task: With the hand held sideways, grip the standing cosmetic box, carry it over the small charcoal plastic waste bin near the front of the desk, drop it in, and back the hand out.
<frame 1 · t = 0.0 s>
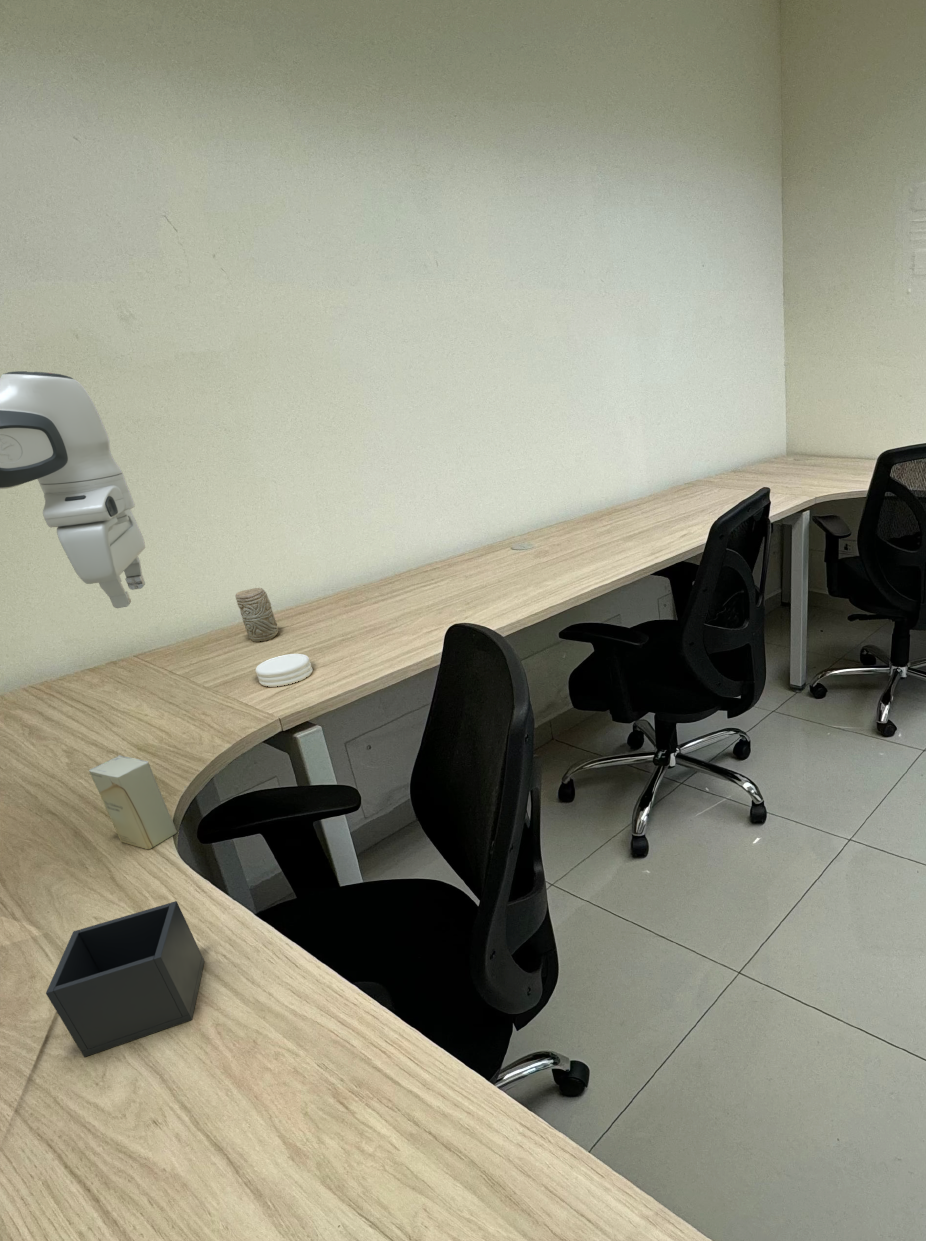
hand: (131, 596, 107), 32 cm above the table, tool pointing down, fingers open, 8 cm apart
cosmetic box: (151, 838, 109), on the table
waste bin: (148, 1005, 81), on the table
white ridged disc: (287, 678, 159), on the table
carving: (265, 638, 182), on the table
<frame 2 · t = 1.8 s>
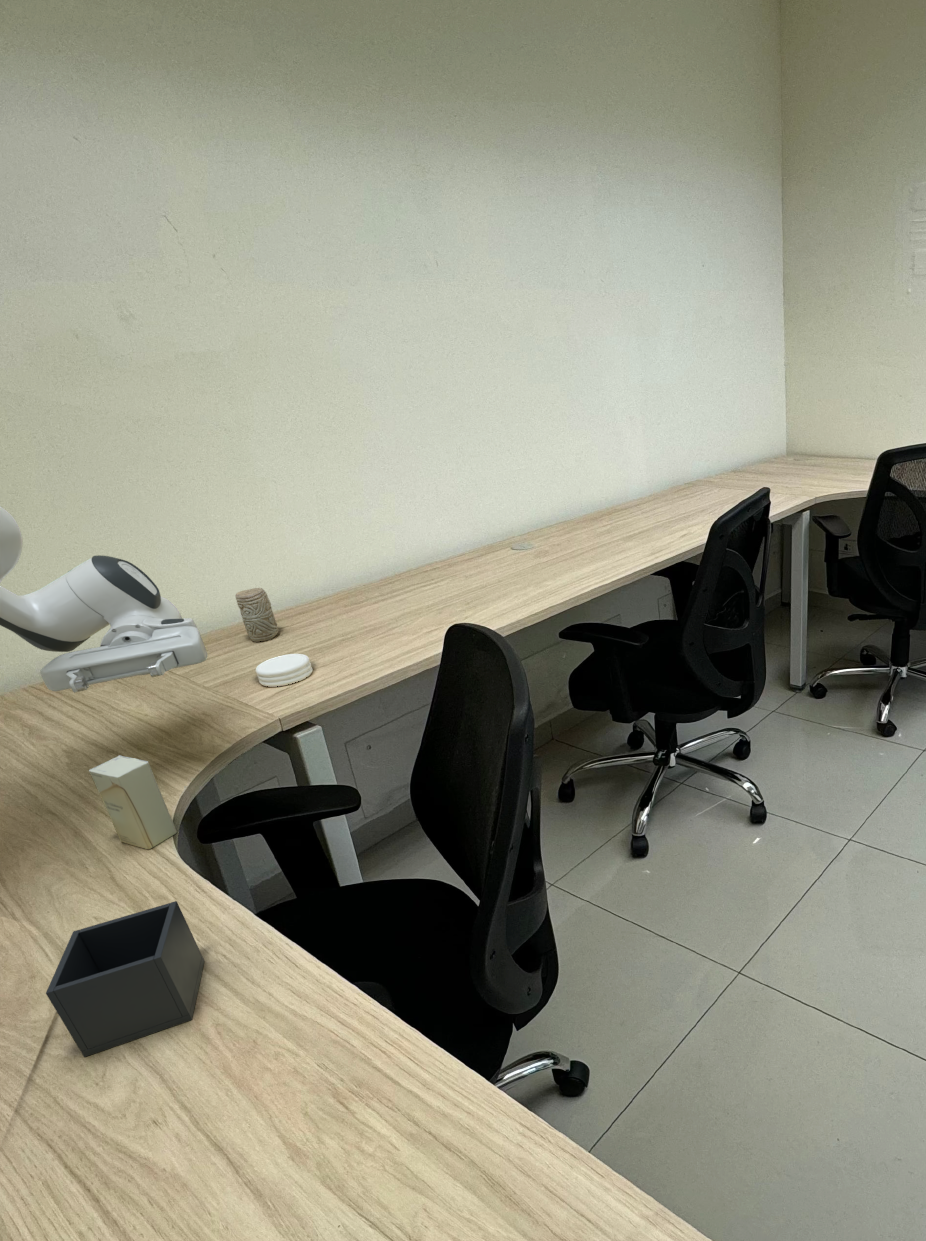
hand: (116, 679, 110), 20 cm above the table, tool horizontal, fingers open, 8 cm apart
nothing on the table moved.
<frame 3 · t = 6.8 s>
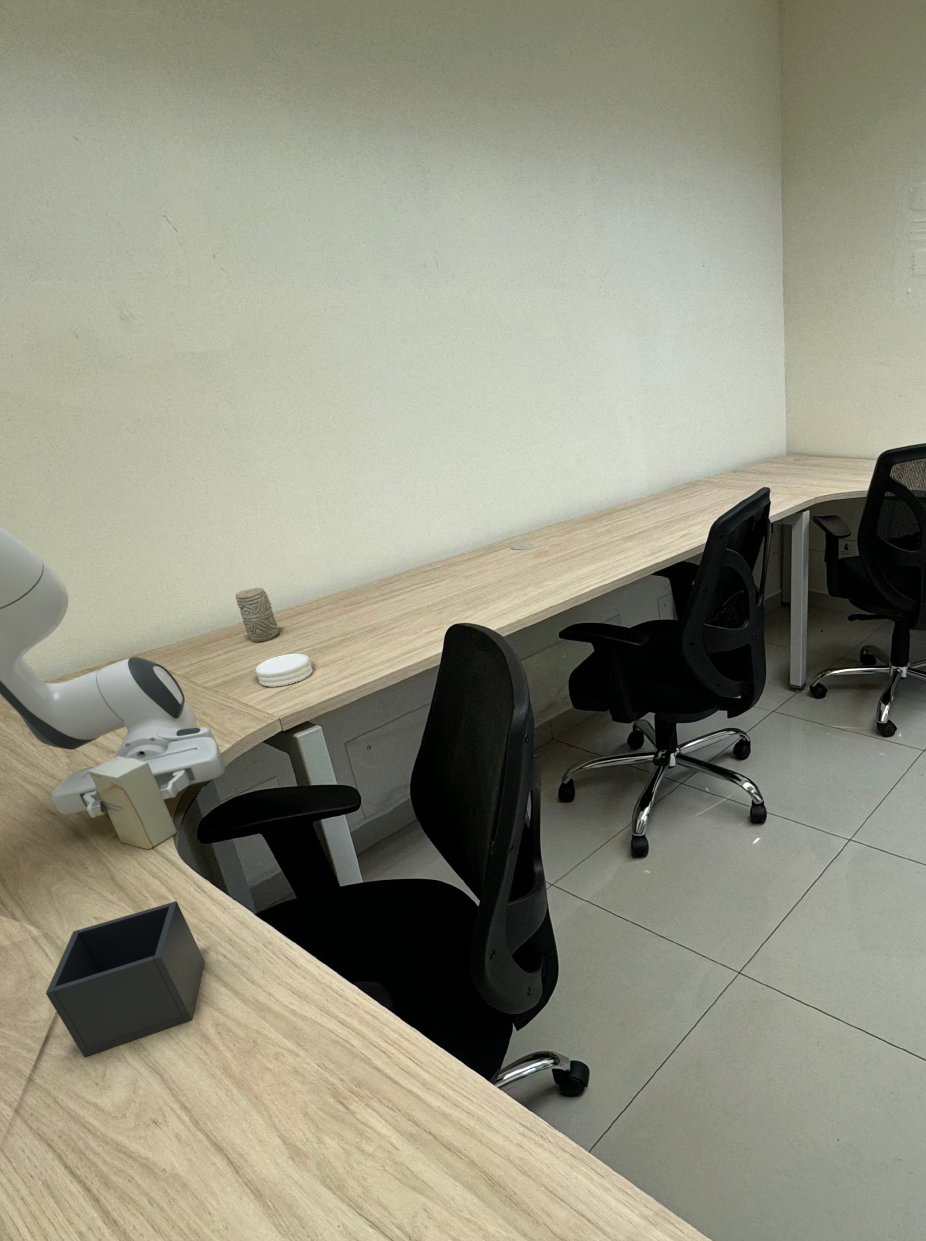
hand: (132, 803, 105), 6 cm above the table, tool horizontal, fingers closed on cosmetic box, 7 cm apart
cosmetic box: (151, 838, 109), on the table, touching gripper
everything else where it was.
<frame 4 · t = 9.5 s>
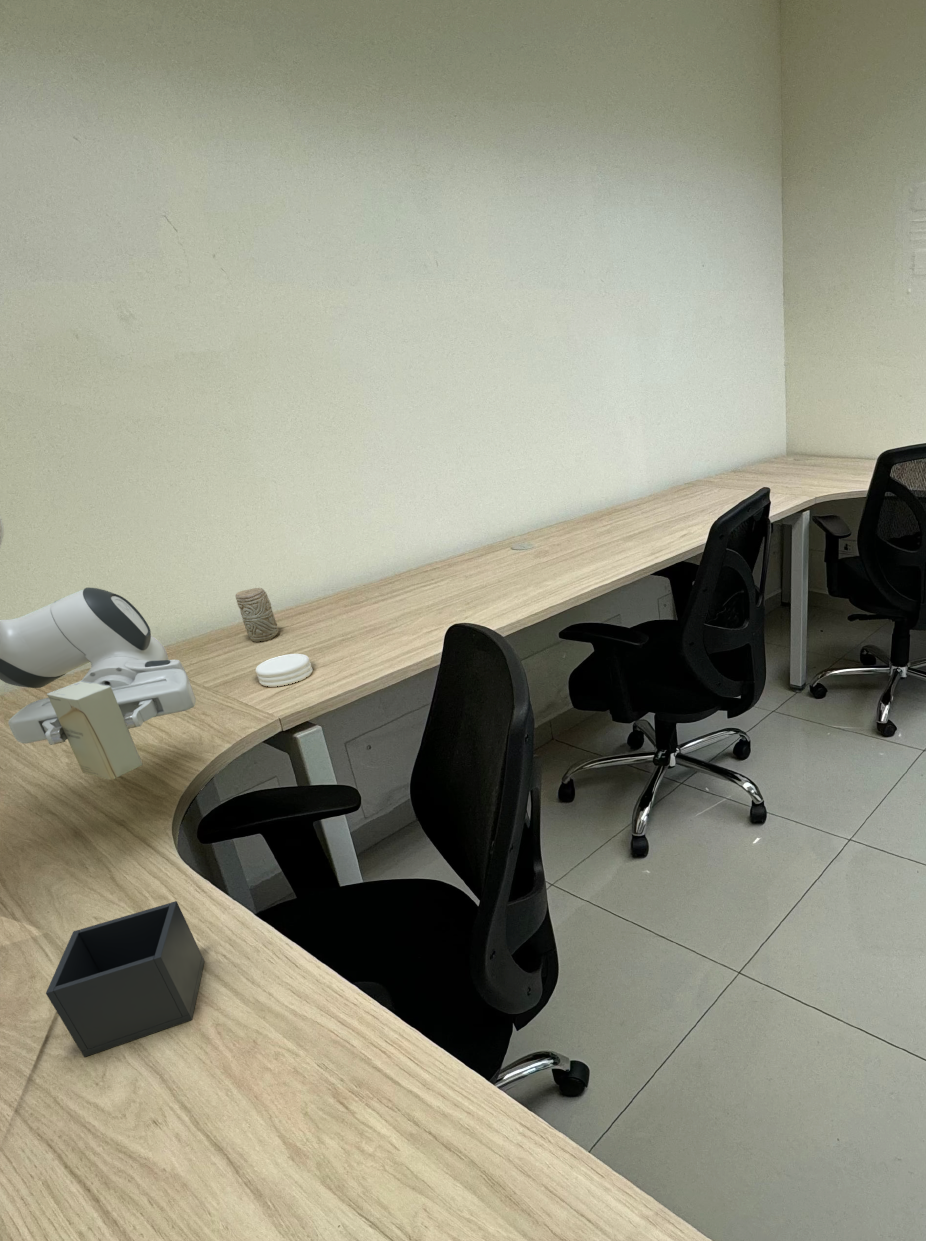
hand: (94, 730, 99), 19 cm above the table, tool horizontal, fingers closed on cosmetic box, 7 cm apart
cosmetic box: (115, 770, 103), point 12 cm above the table, touching gripper
everything else where it was.
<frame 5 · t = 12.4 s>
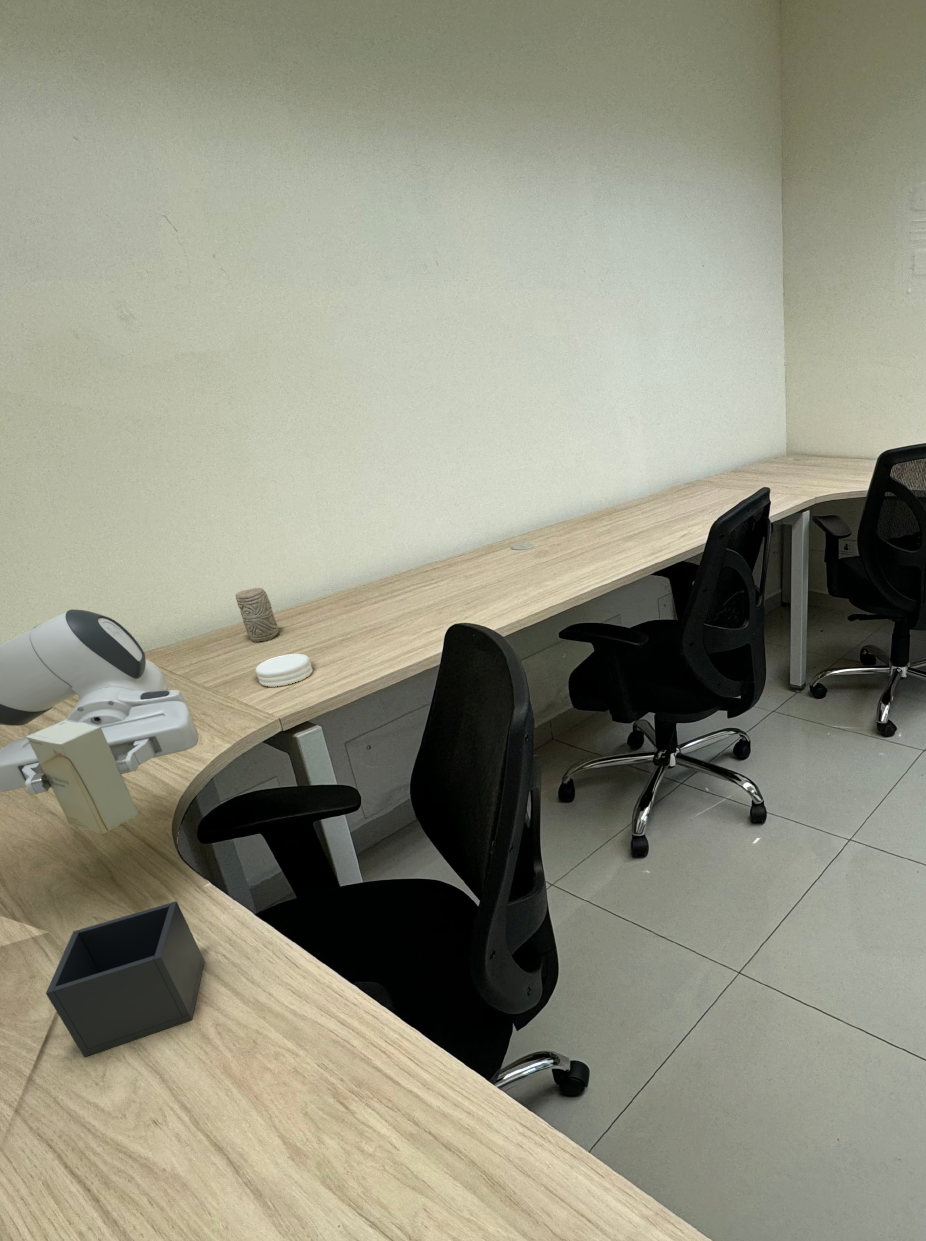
hand: (81, 777, 86), 20 cm above the table, tool horizontal, fingers closed on cosmetic box, 7 cm apart
cosmetic box: (107, 821, 90), point 13 cm above the table, touching gripper
everything else where it was.
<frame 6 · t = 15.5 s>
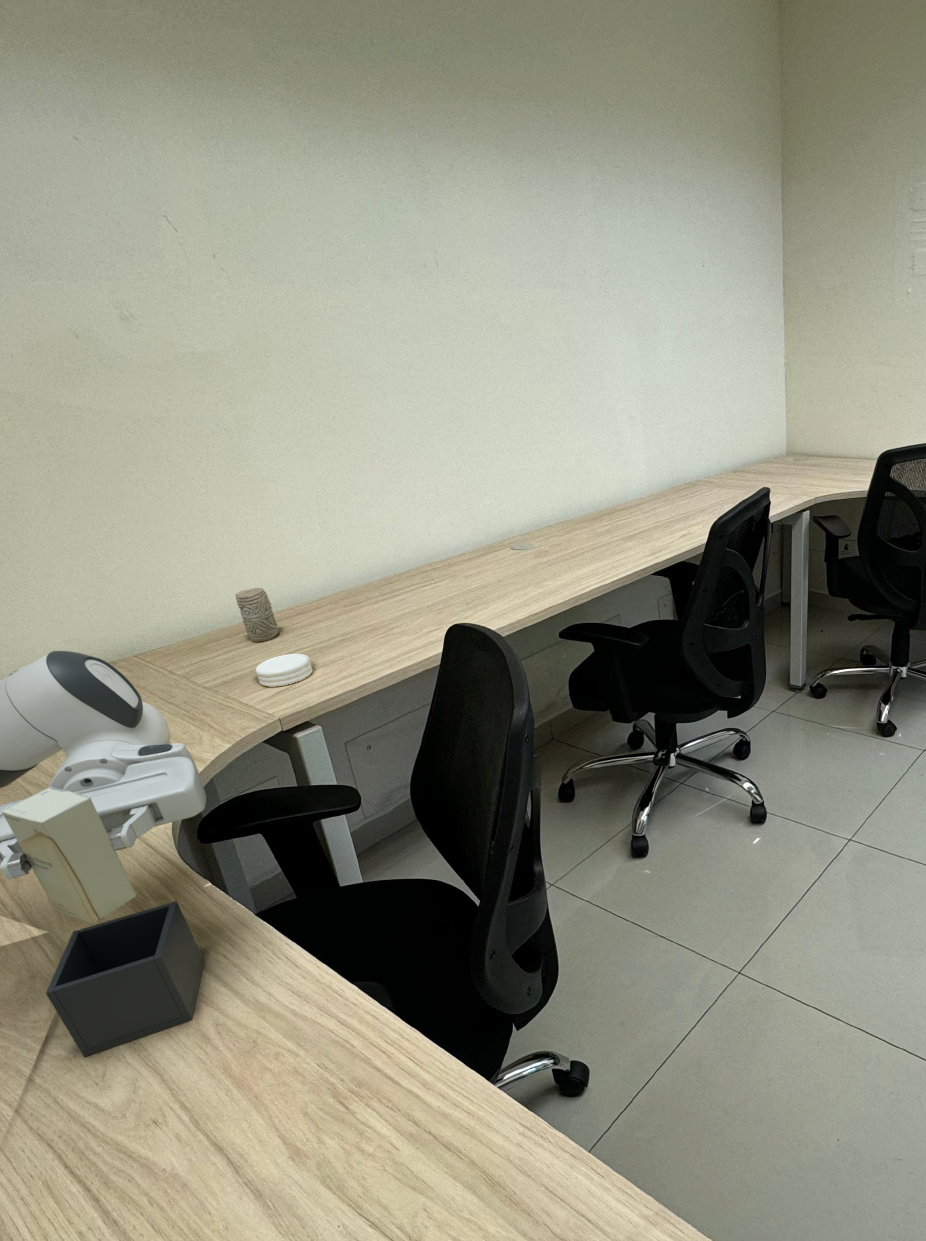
hand: (68, 857, 72), 20 cm above the table, tool horizontal, fingers closed on cosmetic box, 7 cm apart
cosmetic box: (99, 904, 76), point 13 cm above the table, touching gripper
everything else where it was.
when the fingers open (13 cm above the table, at t = 18.2 s): cosmetic box drops 6 cm, resting on waste bin.
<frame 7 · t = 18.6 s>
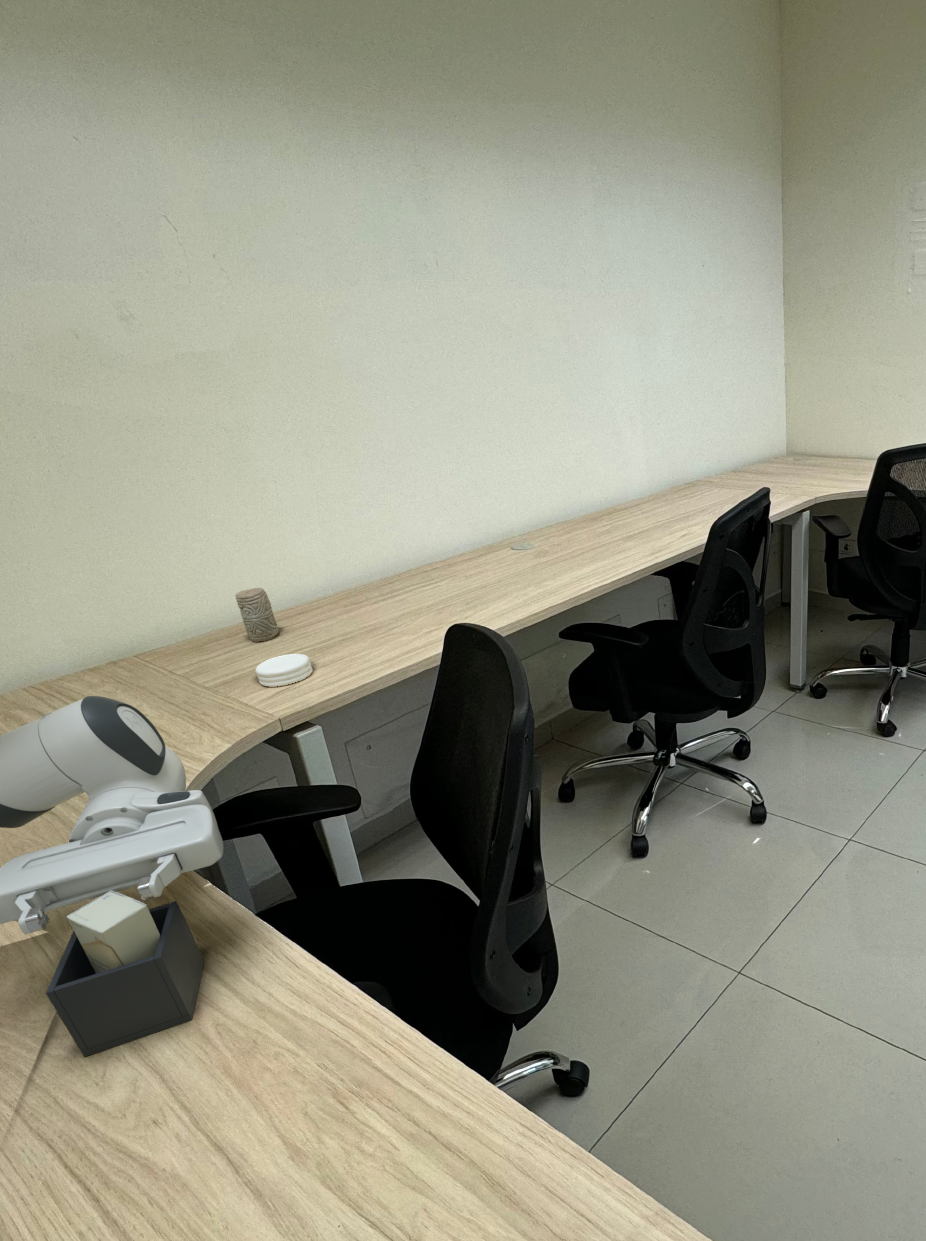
hand: (91, 909, 74), 14 cm above the table, tool horizontal, fingers open, 8 cm apart
cosmetic box: (151, 999, 81), point 1 cm above the table, touching waste bin
everything else where it was.
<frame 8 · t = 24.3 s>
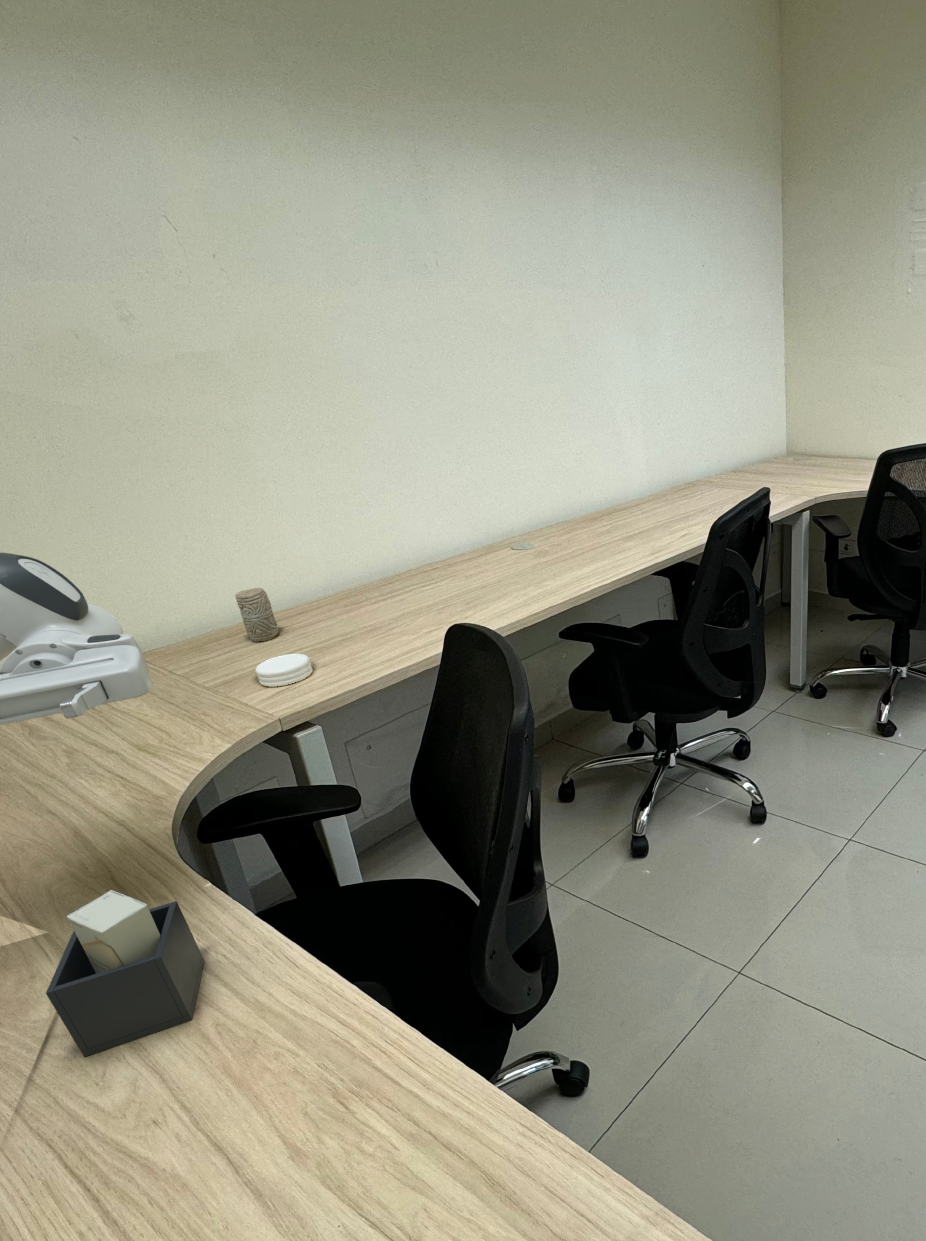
hand: (13, 722, 77), 30 cm above the table, tool horizontal, fingers open, 8 cm apart
nothing on the table moved.
at the end: cosmetic box inside the target area in the waste bin (0.5 cm from its centre), point 0.6 cm above the waste bin's base; the gripper is holding nothing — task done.
